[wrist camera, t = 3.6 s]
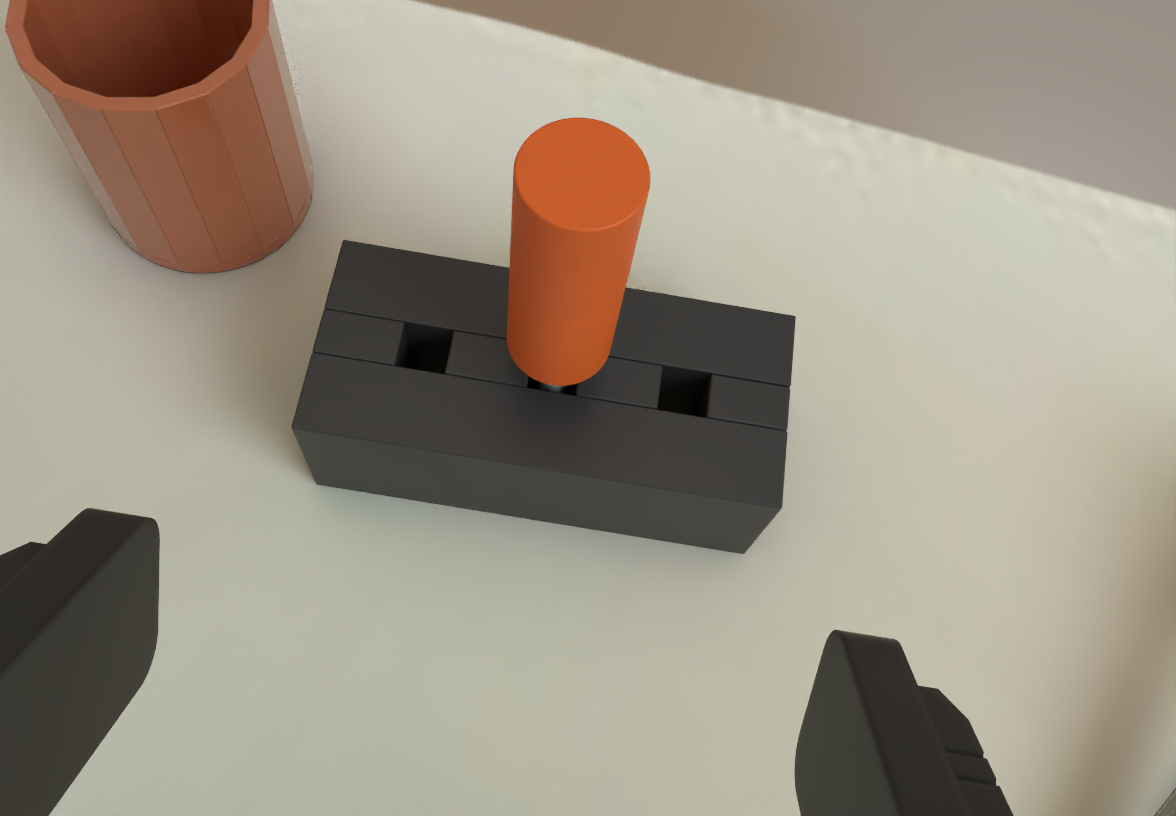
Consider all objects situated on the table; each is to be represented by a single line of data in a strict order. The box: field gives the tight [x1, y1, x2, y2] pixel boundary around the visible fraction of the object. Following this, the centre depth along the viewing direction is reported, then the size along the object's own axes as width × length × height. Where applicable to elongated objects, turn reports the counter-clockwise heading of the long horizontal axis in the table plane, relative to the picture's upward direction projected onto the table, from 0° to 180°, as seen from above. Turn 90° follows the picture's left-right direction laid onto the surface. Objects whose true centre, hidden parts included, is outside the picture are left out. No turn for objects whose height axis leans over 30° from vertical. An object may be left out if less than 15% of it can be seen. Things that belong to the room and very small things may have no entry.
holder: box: [292, 240, 795, 554], centre depth 35 cm, size 6×14×5 cm, turn 82°
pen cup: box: [5, 0, 313, 273], centre depth 36 cm, size 7×7×9 cm
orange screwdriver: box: [507, 118, 650, 394], centre depth 30 cm, size 3×3×15 cm
